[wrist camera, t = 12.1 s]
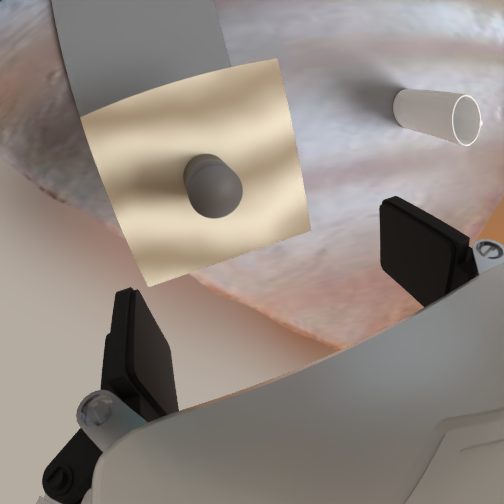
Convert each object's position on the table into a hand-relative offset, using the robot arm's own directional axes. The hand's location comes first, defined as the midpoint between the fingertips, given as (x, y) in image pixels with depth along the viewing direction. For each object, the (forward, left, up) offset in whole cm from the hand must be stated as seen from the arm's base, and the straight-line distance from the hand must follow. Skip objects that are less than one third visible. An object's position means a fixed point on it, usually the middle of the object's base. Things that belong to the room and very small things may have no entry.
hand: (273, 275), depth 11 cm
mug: (+1, +34, -28) cm, 44 cm away
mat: (-17, -2, -28) cm, 33 cm away
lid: (0, 0, -17) cm, 17 cm away
